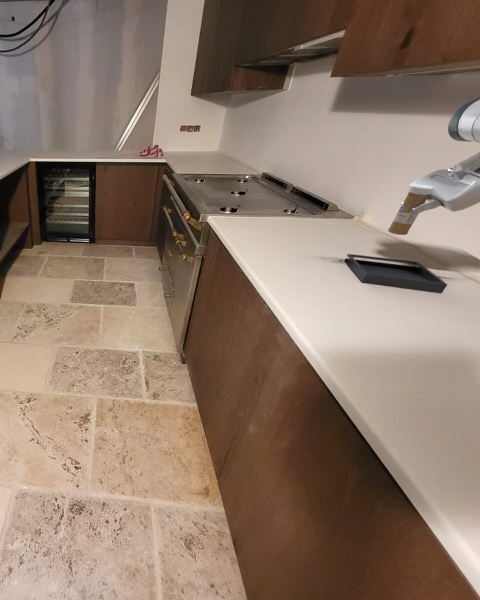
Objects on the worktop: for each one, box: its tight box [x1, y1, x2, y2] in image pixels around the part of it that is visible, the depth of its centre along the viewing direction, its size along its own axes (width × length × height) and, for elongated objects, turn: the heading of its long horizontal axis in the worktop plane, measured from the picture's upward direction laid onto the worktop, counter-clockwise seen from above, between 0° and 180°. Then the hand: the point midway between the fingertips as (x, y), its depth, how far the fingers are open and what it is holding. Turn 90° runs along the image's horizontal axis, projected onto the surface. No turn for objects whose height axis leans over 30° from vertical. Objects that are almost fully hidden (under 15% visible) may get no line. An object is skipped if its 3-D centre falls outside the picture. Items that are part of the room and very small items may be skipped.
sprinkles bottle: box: [387, 184, 434, 236], centre depth 91 cm, size 5×5×13 cm
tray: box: [344, 253, 449, 294], centre depth 89 cm, size 17×14×2 cm
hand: (407, 208), depth 91 cm, fingers closed on sprinkles bottle, 4 cm apart
